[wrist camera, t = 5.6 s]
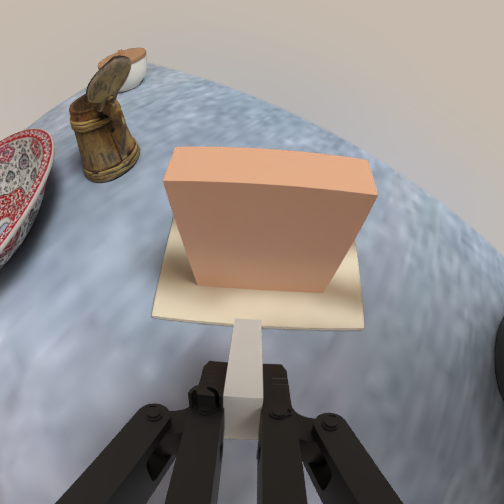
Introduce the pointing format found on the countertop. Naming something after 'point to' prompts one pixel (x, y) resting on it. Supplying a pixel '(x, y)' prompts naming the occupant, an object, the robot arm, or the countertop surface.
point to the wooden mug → (104, 124)
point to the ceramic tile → (267, 214)
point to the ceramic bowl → (22, 184)
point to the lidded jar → (137, 66)
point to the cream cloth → (257, 298)
